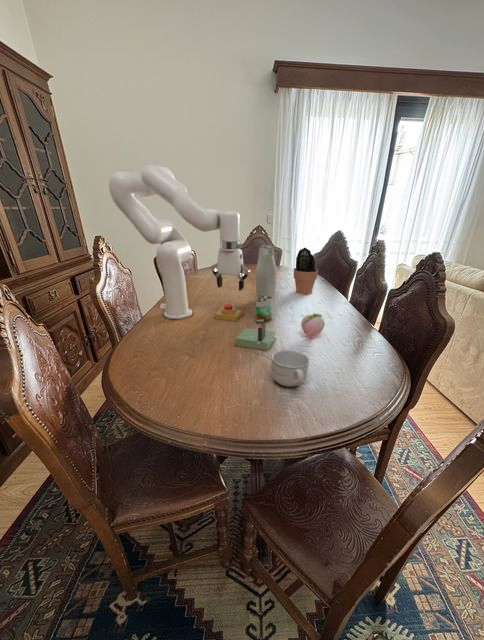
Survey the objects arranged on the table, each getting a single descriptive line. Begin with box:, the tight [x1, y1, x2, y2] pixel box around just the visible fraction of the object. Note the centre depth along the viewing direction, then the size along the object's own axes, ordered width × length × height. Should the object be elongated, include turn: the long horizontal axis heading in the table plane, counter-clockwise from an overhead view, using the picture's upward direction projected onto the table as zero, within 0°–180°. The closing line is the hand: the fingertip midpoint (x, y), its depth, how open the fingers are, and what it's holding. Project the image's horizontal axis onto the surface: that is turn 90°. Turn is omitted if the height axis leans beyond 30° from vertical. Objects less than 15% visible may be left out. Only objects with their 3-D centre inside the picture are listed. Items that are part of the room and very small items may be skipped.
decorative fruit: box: [300, 313, 326, 337], centre depth 111 cm, size 9×8×10 cm
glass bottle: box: [255, 244, 277, 300], centre depth 146 cm, size 10×10×28 cm
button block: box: [214, 305, 243, 322], centre depth 130 cm, size 10×8×4 cm
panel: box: [235, 327, 276, 351], centre depth 106 cm, size 13×12×3 cm
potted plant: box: [293, 247, 319, 295], centre depth 162 cm, size 14×14×25 cm
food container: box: [255, 294, 274, 324], centre depth 126 cm, size 12×6×10 cm, turn 168°
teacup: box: [270, 349, 310, 388], centre depth 82 cm, size 14×11×8 cm
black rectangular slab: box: [257, 323, 266, 342], centre depth 102 cm, size 4×1×5 cm, turn 163°
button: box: [223, 303, 233, 310], centre depth 129 cm, size 4×4×2 cm
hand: (230, 288), depth 120 cm, fingers open, 9 cm apart
